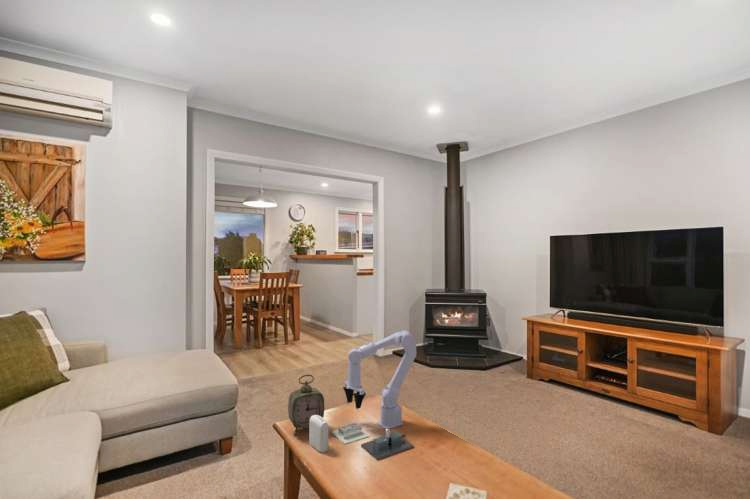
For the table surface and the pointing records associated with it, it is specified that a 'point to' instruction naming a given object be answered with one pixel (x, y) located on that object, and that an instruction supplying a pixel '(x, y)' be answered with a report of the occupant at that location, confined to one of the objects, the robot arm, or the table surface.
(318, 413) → the tabletop clock
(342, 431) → the gray rectangular frame
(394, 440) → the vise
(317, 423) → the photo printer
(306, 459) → the table surface
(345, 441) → the sage mat
